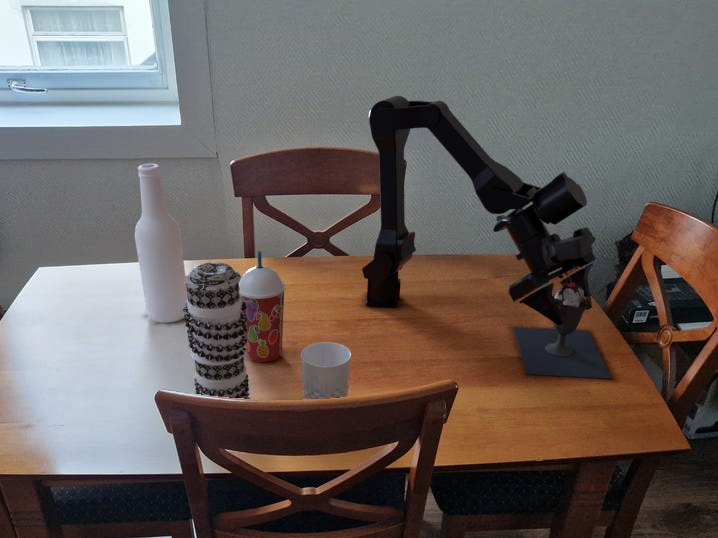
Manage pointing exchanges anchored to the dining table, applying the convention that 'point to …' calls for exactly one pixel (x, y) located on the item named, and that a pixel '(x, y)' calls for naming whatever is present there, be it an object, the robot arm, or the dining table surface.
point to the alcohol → (159, 251)
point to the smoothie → (263, 311)
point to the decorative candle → (217, 330)
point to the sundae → (568, 315)
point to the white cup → (325, 370)
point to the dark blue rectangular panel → (544, 364)
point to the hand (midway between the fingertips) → (575, 316)
